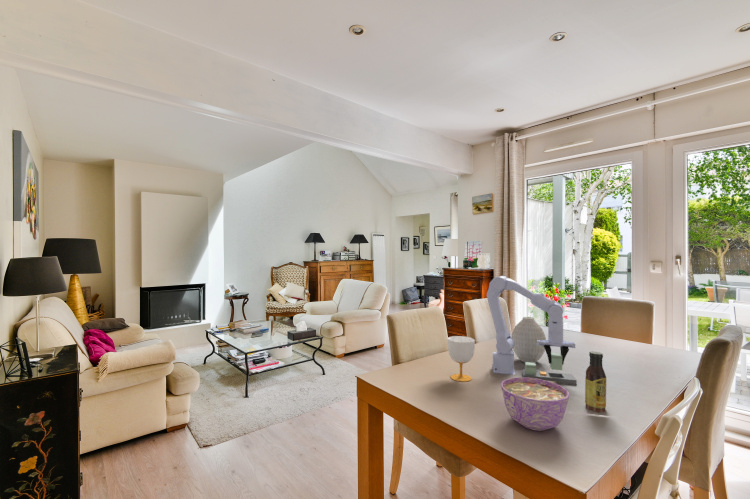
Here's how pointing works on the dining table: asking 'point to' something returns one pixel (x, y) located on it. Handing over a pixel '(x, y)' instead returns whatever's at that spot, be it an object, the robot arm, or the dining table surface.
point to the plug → (556, 361)
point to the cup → (461, 354)
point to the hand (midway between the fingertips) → (555, 363)
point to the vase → (528, 340)
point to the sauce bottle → (595, 384)
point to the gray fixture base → (547, 375)
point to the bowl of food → (535, 402)
